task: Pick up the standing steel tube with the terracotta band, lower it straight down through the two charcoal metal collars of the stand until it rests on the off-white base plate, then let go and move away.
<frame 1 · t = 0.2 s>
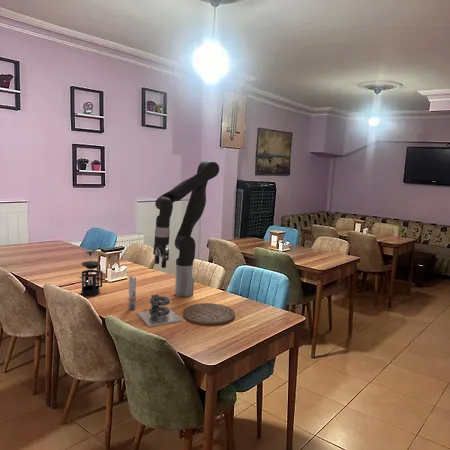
hand: (160, 265, 214), 18 cm above the table, tool pointing down, fingers open, 8 cm apart
trivet: (208, 316, 197), on the table
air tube: (132, 308, 200), on the table
french press: (91, 293, 219), on the table
collar stand: (159, 317, 191), on the table
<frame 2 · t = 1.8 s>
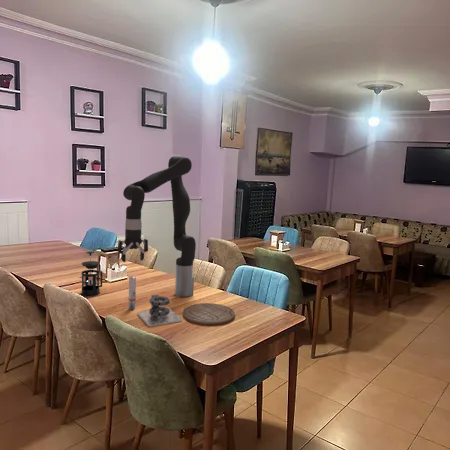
hand: (132, 261, 197), 24 cm above the table, tool pointing down, fingers open, 8 cm apart
nothing on the table moved.
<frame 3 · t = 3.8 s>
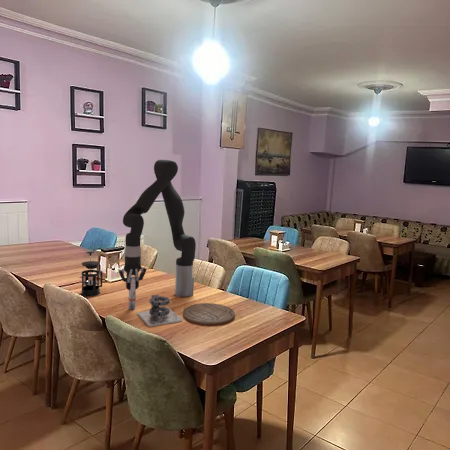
hand: (132, 288, 199), 10 cm above the table, tool pointing down, fingers closed on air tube, 3 cm apart
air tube: (132, 308, 200), on the table, touching gripper
everything else where it was.
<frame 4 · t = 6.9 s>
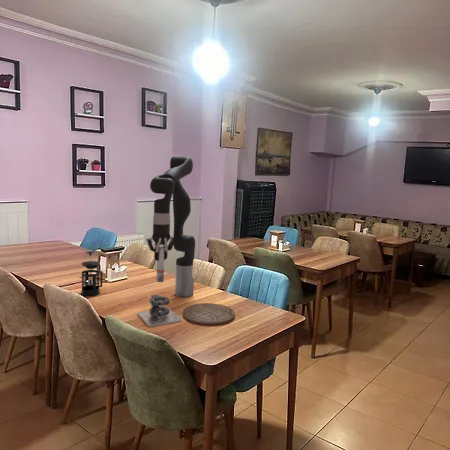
hand: (160, 259, 186), 28 cm above the table, tool pointing down, fingers closed on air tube, 3 cm apart
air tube: (160, 281, 188), point 18 cm above the table, touching gripper
everything else where it was.
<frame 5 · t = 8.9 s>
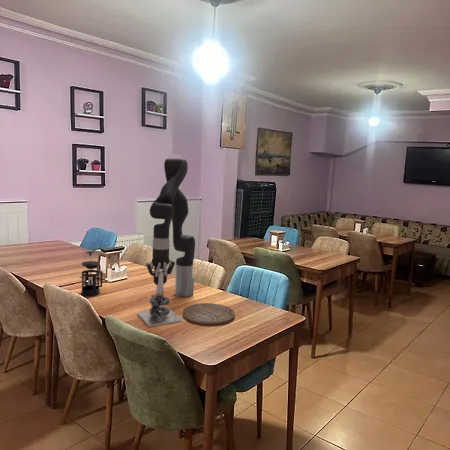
hand: (160, 283, 188), 17 cm above the table, tool pointing down, fingers closed on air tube, 3 cm apart
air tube: (159, 304, 190), point 6 cm above the table, touching gripper
everything else where it was.
when the fingers open (12 cm above the table, at t = 10.3 s): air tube stays where it is, resting on collar stand.
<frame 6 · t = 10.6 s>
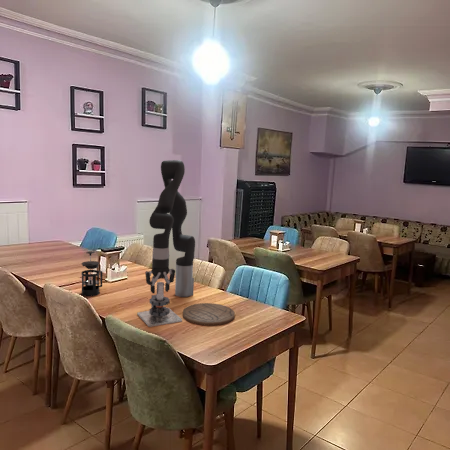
hand: (159, 292, 189), 13 cm above the table, tool pointing down, fingers open, 6 cm apart
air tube: (159, 315, 191), point 1 cm above the table, touching collar stand
everything else where it was.
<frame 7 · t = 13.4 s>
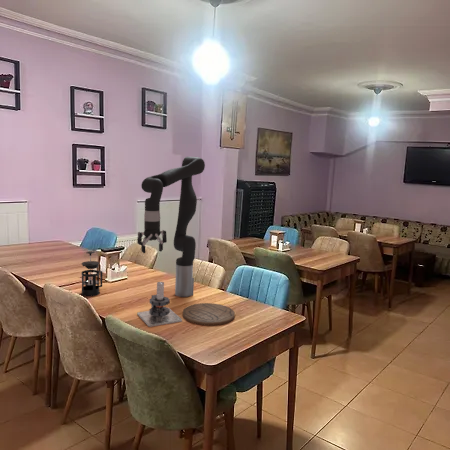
hand: (152, 252, 201), 28 cm above the table, tool pointing down, fingers open, 8 cm apart
nothing on the table moved.
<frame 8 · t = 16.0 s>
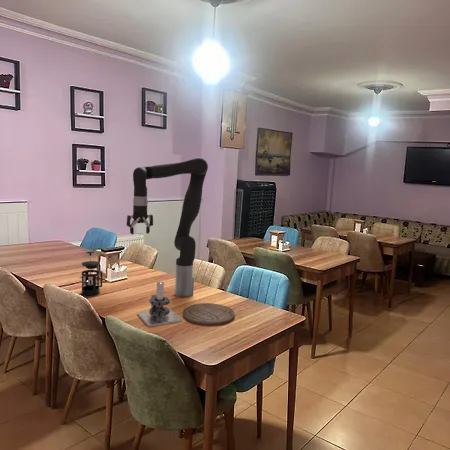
hand: (139, 233, 223), 32 cm above the table, tool pointing down, fingers open, 8 cm apart
nothing on the table moved.
at the end: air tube 0.1 cm off-centre on the collar stand, point 1.0 cm above the collar stand's base; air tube tilted 0°; the gripper is holding nothing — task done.
